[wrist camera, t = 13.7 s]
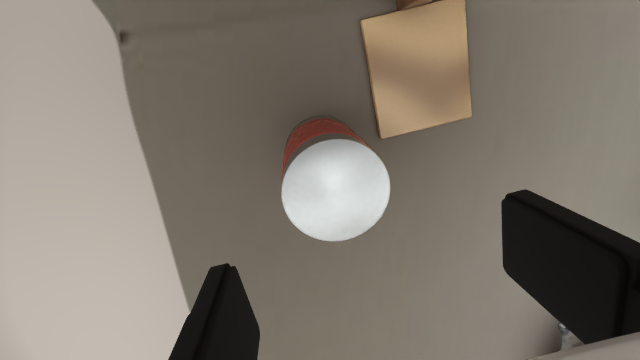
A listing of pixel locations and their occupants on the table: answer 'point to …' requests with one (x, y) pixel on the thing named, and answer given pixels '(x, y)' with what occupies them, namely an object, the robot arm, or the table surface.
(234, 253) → the table surface
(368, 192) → the tin can
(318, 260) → the table surface
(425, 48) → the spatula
